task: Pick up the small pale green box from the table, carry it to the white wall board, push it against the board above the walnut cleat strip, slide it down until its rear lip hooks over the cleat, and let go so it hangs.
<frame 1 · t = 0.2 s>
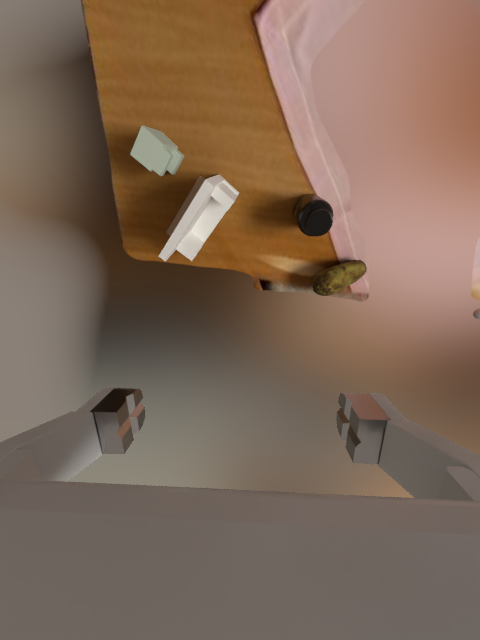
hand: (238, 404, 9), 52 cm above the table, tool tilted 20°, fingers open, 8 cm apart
wall board: (201, 208, 53), on the table
pale green box: (163, 151, 47), on the table
potato: (334, 271, 60), on the table
supplement bottle: (307, 210, 52), on the table
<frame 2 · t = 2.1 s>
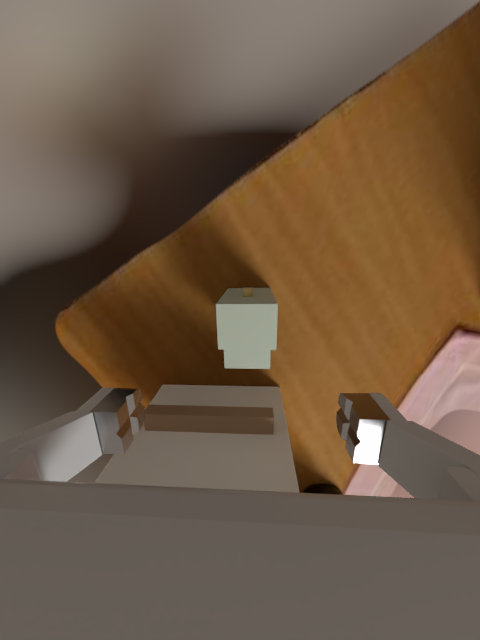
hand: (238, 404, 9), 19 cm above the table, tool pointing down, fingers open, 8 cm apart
wall board: (220, 390, 31), on the table
pale green box: (249, 304, 28), on the table
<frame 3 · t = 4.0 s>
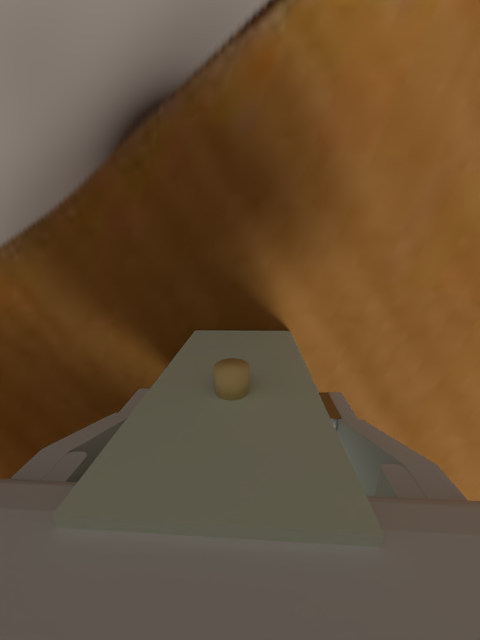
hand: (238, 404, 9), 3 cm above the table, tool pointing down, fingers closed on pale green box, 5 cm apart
pale green box: (242, 364, 13), on the table, touching gripper
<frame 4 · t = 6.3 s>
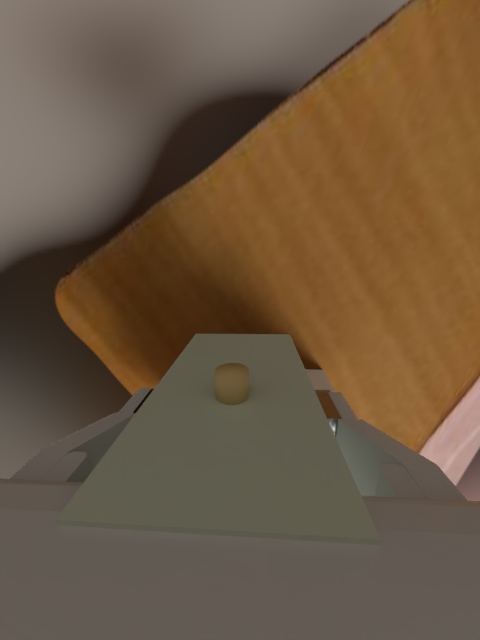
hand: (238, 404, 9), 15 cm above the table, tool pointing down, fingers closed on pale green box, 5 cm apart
wall board: (250, 374, 26), on the table
pale green box: (242, 368, 13), point 12 cm above the table, touching gripper
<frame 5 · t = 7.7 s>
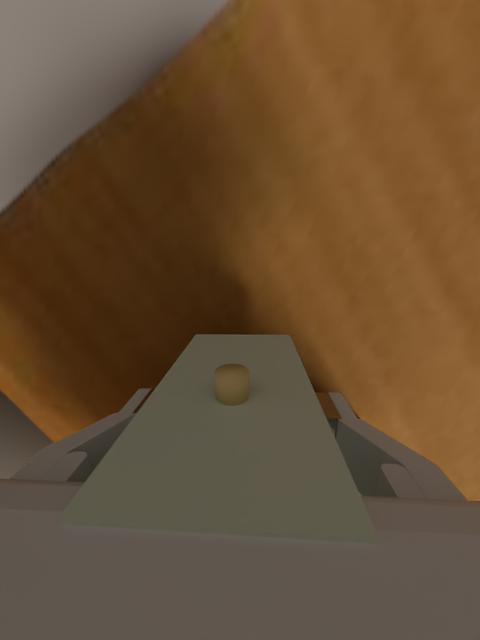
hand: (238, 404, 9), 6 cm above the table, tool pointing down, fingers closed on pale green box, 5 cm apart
pale green box: (242, 368, 13), point 2 cm above the table, touching gripper
when the fingers open (4 cm above the table, at t = 8.7 s): pale green box stays where it is, resting on wall board.
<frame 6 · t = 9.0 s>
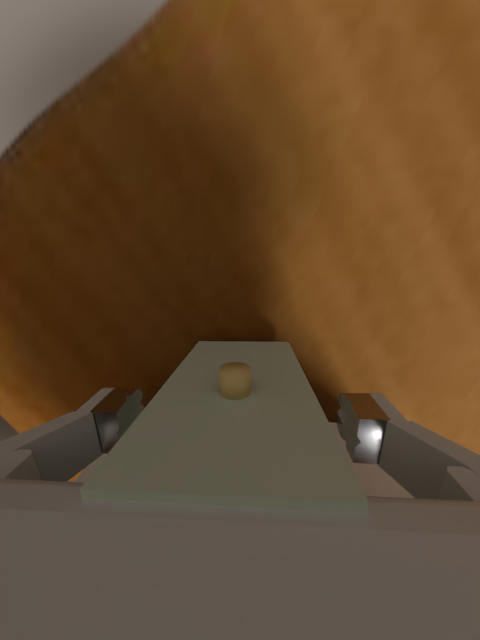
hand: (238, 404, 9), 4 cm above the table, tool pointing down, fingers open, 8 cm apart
wall board: (243, 429, 15), on the table
pale green box: (243, 374, 13), point 1 cm above the table, touching wall board
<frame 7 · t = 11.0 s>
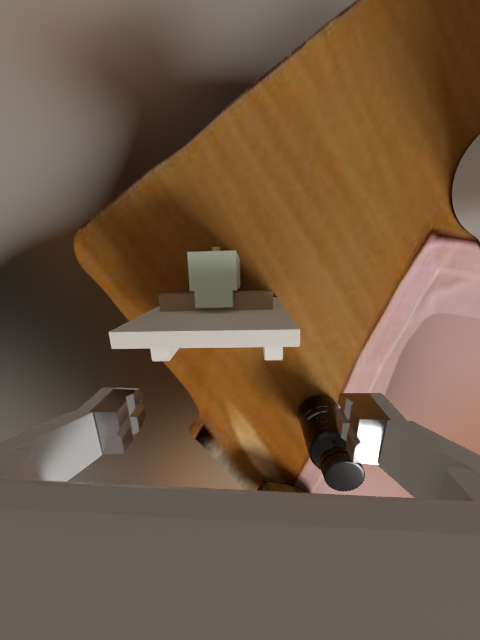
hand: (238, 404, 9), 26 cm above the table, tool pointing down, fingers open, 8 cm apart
wall board: (224, 303, 35), on the table
pale green box: (222, 272, 33), point 1 cm above the table, touching wall board
potato: (283, 484, 43), on the table
supplement bottle: (317, 410, 39), on the table
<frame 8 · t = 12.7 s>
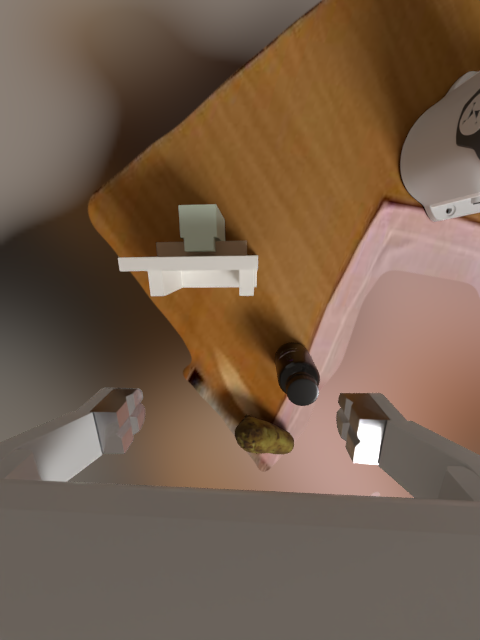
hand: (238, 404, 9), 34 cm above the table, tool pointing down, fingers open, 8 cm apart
wall board: (212, 259, 41), on the table
pale green box: (210, 232, 39), point 1 cm above the table, touching wall board
potato: (263, 424, 51), on the table
supplement bottle: (291, 356, 46), on the table
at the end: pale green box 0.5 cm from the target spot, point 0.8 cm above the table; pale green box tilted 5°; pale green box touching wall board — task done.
